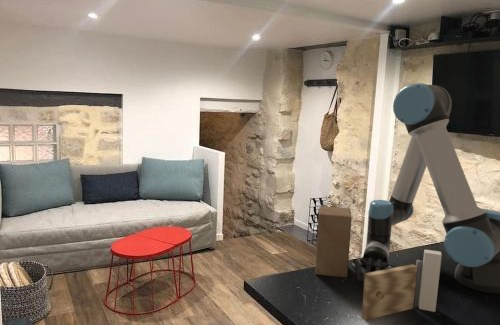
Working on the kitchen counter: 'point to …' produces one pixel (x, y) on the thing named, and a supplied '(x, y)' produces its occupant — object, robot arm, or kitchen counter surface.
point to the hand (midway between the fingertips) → (369, 290)
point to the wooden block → (333, 241)
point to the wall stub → (427, 280)
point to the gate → (389, 291)
